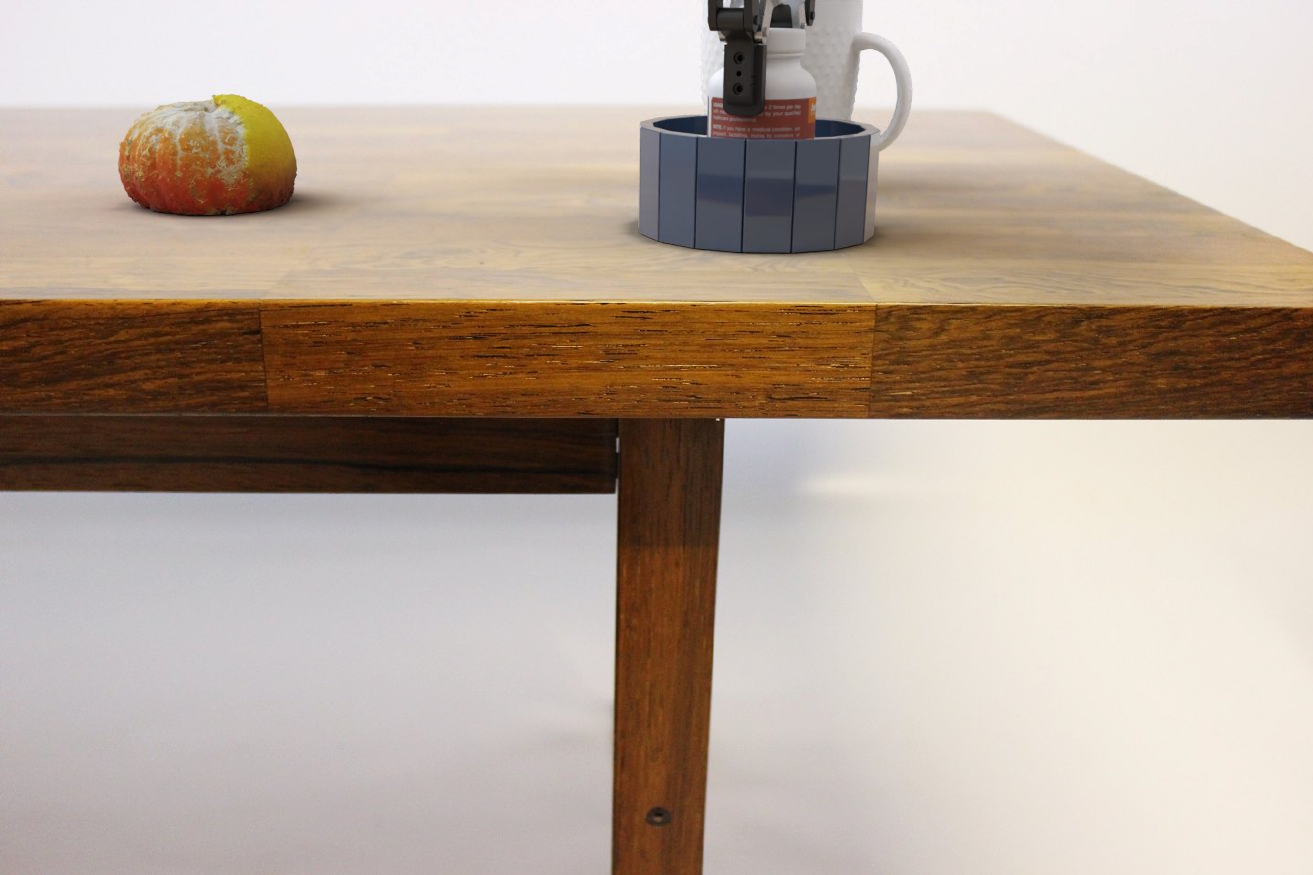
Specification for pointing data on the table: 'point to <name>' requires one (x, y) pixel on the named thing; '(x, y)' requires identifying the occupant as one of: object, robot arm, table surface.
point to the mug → (829, 62)
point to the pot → (757, 187)
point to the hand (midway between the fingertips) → (761, 109)
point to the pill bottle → (771, 94)
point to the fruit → (208, 158)
